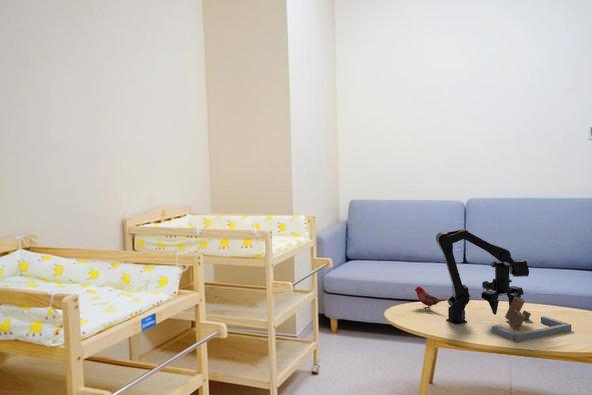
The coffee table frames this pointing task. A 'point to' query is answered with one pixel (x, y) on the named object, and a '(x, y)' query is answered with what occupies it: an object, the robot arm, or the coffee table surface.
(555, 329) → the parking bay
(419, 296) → the decorative bird figurine
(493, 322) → the coffee table surface
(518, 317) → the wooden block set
